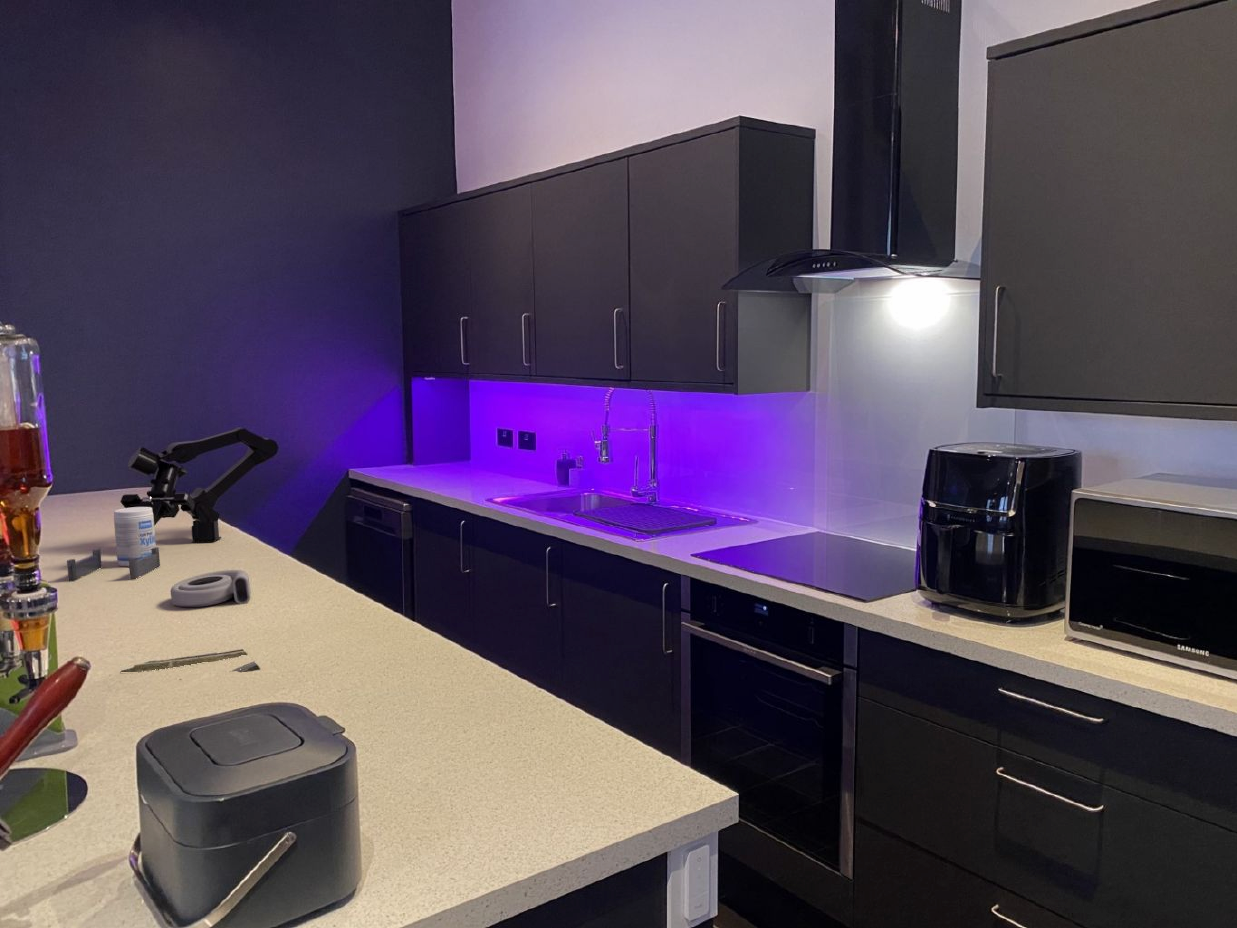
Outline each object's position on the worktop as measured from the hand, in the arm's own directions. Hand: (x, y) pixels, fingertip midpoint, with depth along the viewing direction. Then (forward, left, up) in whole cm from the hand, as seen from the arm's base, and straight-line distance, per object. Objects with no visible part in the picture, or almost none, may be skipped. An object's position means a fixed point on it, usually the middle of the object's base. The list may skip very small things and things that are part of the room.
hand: (149, 527), depth 273 cm
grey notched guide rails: (-1, +22, -8) cm, 24 cm away
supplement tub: (-1, +10, -8) cm, 13 cm away
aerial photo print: (-52, +102, -8) cm, 115 cm away
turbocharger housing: (-36, +51, -8) cm, 63 cm away
